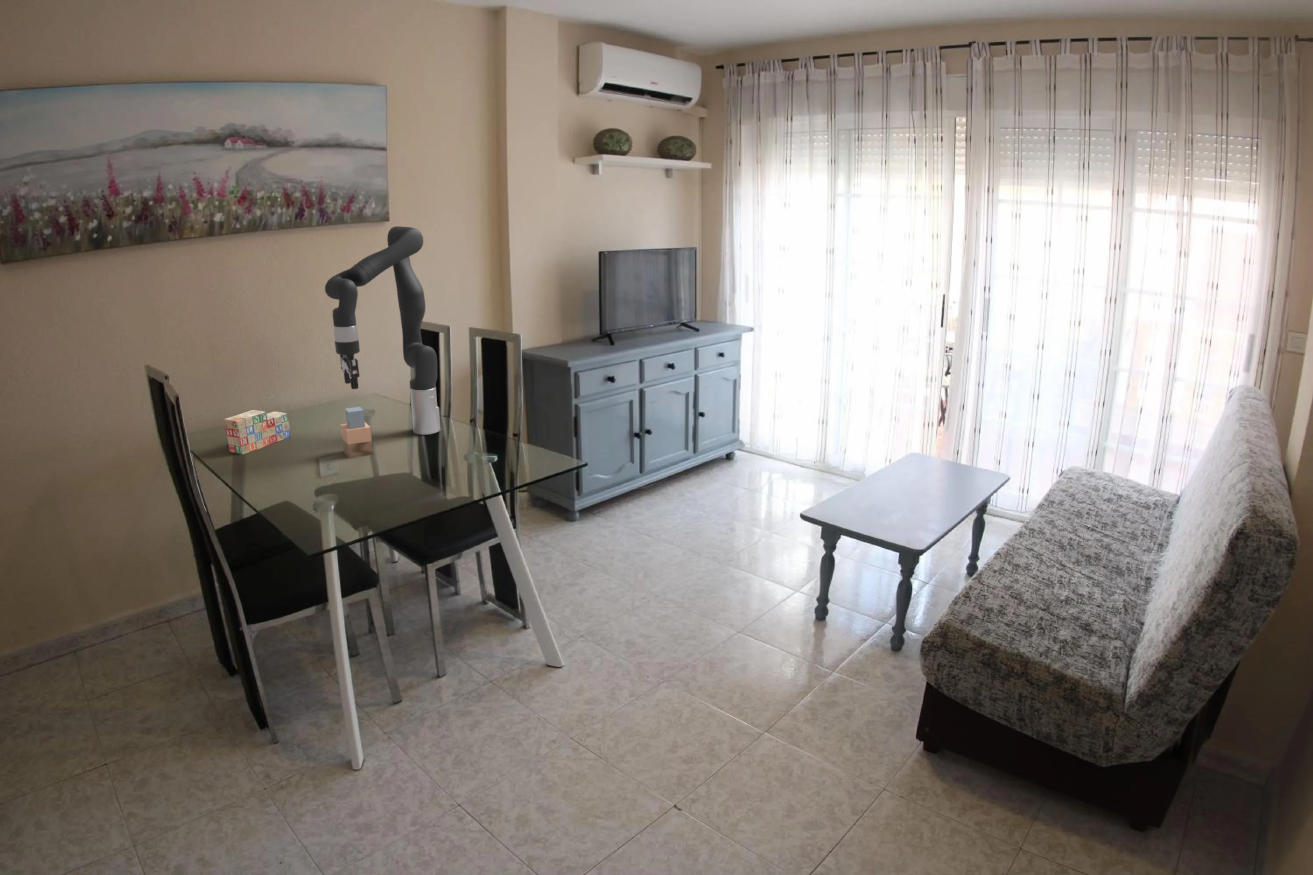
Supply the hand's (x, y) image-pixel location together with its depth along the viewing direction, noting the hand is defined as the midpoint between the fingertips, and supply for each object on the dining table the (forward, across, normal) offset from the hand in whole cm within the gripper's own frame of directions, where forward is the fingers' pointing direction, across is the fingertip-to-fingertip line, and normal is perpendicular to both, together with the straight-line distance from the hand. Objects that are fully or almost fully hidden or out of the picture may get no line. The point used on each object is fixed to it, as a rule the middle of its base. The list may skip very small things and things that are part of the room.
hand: (351, 386), depth 273 cm
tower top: (+19, 0, 0) cm, 19 cm away
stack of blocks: (+24, +26, +27) cm, 45 cm away
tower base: (+24, 0, 0) cm, 24 cm away
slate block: (+14, 0, 0) cm, 14 cm away
